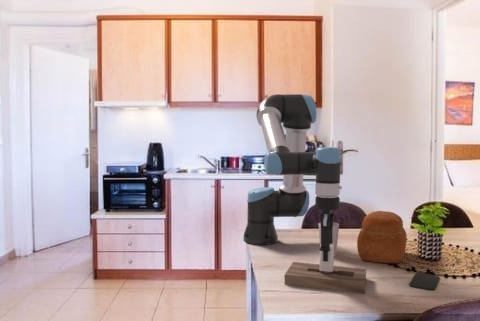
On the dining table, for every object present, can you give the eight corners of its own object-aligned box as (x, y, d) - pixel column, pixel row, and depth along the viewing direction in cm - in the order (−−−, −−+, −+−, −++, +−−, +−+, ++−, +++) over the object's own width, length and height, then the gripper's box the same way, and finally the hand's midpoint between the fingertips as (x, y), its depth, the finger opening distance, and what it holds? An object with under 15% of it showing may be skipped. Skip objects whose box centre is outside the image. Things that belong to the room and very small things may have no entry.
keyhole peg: (320, 278, 139) (321, 242, 138) (333, 279, 138) (333, 243, 137) (319, 282, 135) (319, 245, 134) (332, 283, 134) (332, 247, 133)
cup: (338, 257, 163) (339, 226, 162) (317, 256, 164) (318, 225, 164) (338, 252, 171) (338, 222, 170) (318, 250, 172) (318, 221, 171)
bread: (406, 251, 172) (407, 210, 171) (405, 266, 152) (406, 220, 151) (361, 247, 178) (362, 207, 177) (354, 261, 159) (355, 216, 158)
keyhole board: (293, 270, 147) (293, 261, 146) (365, 278, 139) (366, 268, 139) (284, 284, 133) (284, 274, 133) (364, 293, 126) (364, 282, 126)
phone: (440, 276, 141) (434, 289, 128) (440, 278, 141) (434, 292, 128) (416, 272, 145) (408, 284, 132) (416, 274, 145) (408, 287, 132)
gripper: (337, 200, 125) (335, 278, 127) (341, 193, 142) (340, 262, 143) (311, 199, 128) (310, 275, 129) (319, 192, 144) (318, 260, 145)
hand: (326, 268), depth 136 cm, fingers closed on keyhole peg, 4 cm apart
